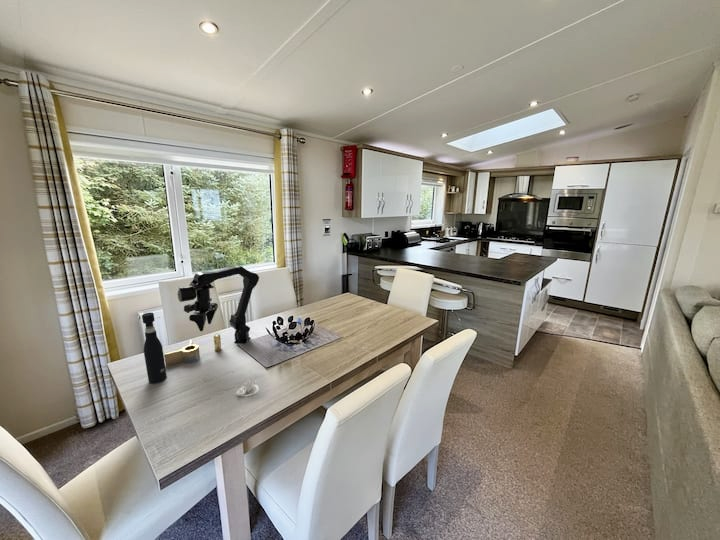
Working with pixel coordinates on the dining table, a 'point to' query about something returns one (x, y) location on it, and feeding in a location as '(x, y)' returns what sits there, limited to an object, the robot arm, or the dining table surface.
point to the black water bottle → (153, 352)
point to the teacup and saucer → (247, 388)
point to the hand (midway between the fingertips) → (205, 327)
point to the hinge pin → (217, 342)
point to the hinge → (183, 355)
